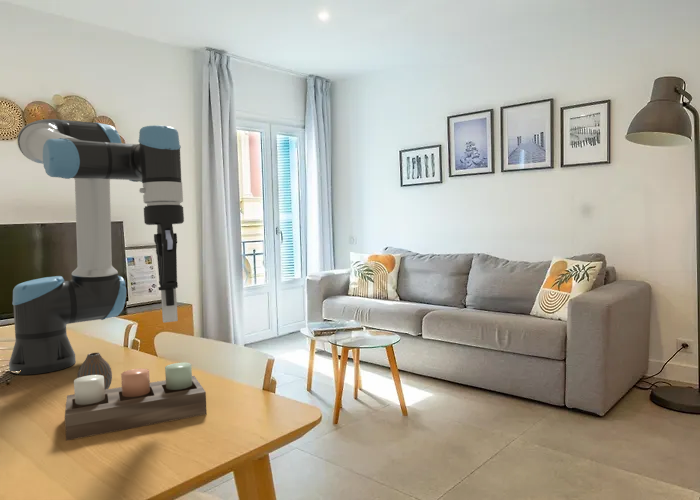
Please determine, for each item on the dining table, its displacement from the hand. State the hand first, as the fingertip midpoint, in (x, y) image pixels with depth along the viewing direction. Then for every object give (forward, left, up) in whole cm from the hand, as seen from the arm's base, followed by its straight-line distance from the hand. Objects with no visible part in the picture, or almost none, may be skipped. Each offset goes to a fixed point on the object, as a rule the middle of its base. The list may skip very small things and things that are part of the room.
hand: (170, 321), depth 106 cm
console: (+3, -7, -17) cm, 19 cm away
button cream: (+3, -15, -13) cm, 20 cm away
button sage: (+3, +1, -13) cm, 13 cm away
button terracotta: (+3, -7, -13) cm, 15 cm away
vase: (-17, -14, -18) cm, 28 cm away
